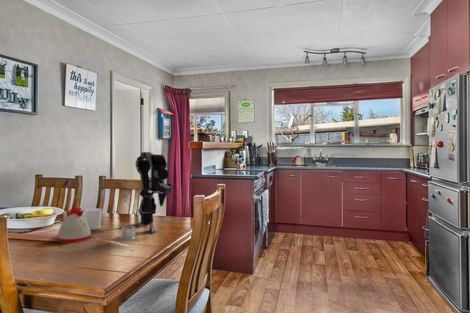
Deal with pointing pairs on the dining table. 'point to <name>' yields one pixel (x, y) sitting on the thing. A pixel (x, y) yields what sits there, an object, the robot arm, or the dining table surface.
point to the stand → (150, 230)
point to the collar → (128, 232)
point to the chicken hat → (74, 227)
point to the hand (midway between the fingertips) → (155, 207)
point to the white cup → (93, 218)
